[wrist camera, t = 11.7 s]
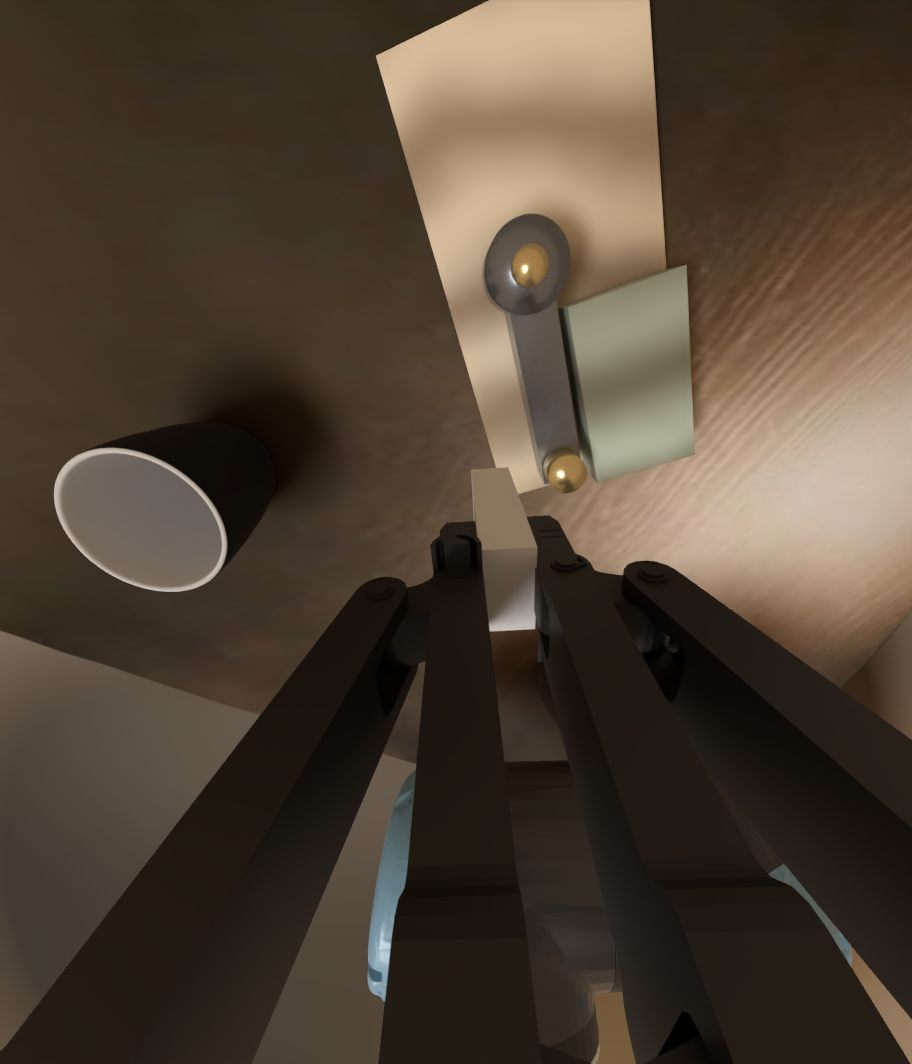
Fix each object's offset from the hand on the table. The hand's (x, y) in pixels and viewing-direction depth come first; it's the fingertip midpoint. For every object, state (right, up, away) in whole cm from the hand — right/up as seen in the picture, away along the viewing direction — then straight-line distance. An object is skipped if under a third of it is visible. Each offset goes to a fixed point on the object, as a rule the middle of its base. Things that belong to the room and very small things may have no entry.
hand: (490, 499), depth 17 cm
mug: (-20, +3, +15) cm, 25 cm away
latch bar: (+4, +10, +10) cm, 14 cm away
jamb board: (+5, +14, +9) cm, 17 cm away
